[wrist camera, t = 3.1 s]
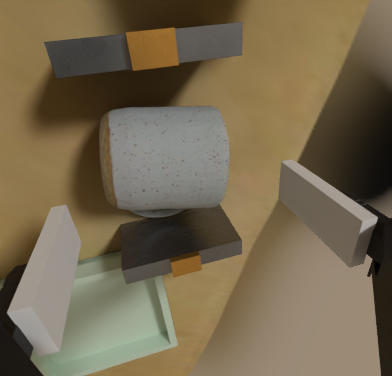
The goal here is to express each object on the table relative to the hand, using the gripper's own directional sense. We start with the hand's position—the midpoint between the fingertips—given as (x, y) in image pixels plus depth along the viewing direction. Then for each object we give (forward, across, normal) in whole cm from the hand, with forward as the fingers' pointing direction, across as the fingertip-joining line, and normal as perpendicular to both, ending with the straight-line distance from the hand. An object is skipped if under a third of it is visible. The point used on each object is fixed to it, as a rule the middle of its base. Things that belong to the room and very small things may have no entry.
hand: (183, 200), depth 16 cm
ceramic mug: (+8, 0, 0) cm, 9 cm away
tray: (+8, -10, -18) cm, 22 cm away
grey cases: (+8, 0, 0) cm, 8 cm away
